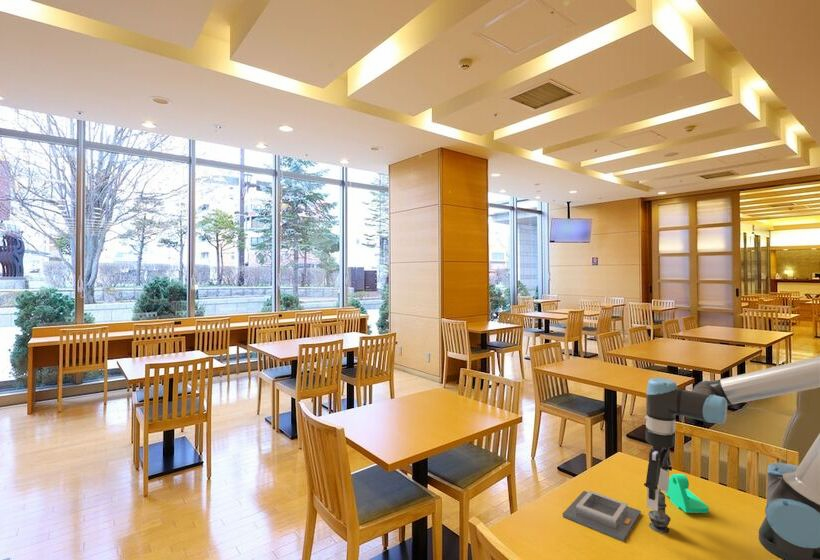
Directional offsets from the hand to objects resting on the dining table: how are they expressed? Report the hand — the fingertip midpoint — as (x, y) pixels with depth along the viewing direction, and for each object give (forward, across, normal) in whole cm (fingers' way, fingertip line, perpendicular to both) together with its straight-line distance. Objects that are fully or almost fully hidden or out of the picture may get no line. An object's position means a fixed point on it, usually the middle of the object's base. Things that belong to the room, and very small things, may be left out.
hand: (657, 499), depth 126 cm
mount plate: (+9, +5, -14) cm, 18 cm away
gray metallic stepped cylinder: (+9, 0, +1) cm, 9 cm away
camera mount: (+9, -20, +4) cm, 22 cm away
